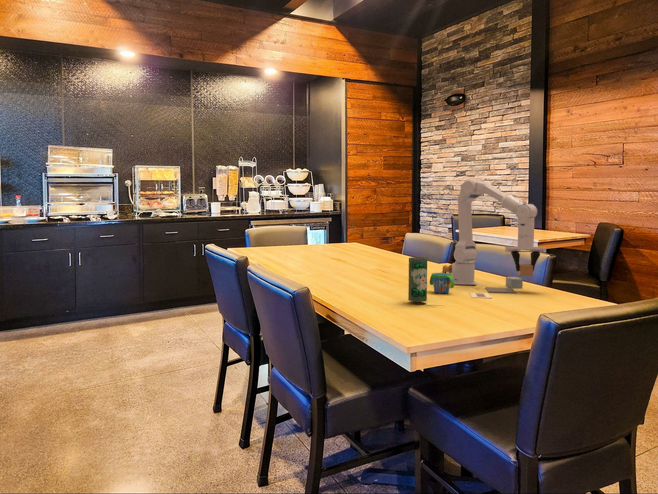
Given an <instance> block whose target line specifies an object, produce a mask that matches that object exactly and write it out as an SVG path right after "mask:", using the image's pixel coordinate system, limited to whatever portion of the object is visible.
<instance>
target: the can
mask: <svg viewBox="0 0 658 494" xmlns="http://www.w3.org/2000/svg"><path fill="white" fill-rule="evenodd" d="M407 293H408V296H407V297H408V301H410V302H415V303H423V302H424V303H425V302H427V299H428V298H427V297H428V258H427V257H419V256H417V257H416V256H415V257H414V256H413V257H408V291H407Z"/></svg>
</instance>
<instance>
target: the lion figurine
mask: <svg viewBox="0 0 658 494" xmlns="http://www.w3.org/2000/svg"><path fill="white" fill-rule="evenodd" d="M444 272H446V273H450V274H452V264H449V266H448V264H447V265H446V264H445V265H443V266H442V271H441V273H444Z"/></svg>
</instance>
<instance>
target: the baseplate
mask: <svg viewBox="0 0 658 494" xmlns="http://www.w3.org/2000/svg"><path fill="white" fill-rule="evenodd" d="M485 290H486V291H487V293H490V294H515V295H516V294H517V291H516V289H512V288H509V287H491V286H490V287H488V286H486V287H485Z"/></svg>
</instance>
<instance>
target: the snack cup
mask: <svg viewBox="0 0 658 494" xmlns="http://www.w3.org/2000/svg"><path fill="white" fill-rule="evenodd" d="M429 285H431V286H433V291H434V294H441V295H442V294H449V291H450V289H453V288H454V286H455V284H454V281H453V278H452V273H451V274H450V273H448V272H446V273H443V272H434V273H433V272H432V273H431V275H430V279H429Z"/></svg>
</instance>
